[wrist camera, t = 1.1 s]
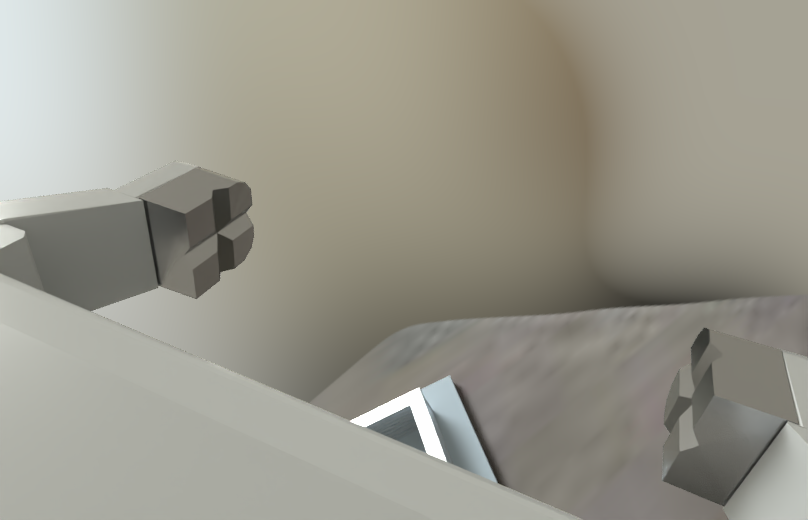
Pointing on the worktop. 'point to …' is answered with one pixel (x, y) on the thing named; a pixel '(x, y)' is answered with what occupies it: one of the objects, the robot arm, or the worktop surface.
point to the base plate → (453, 429)
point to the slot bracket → (408, 422)
